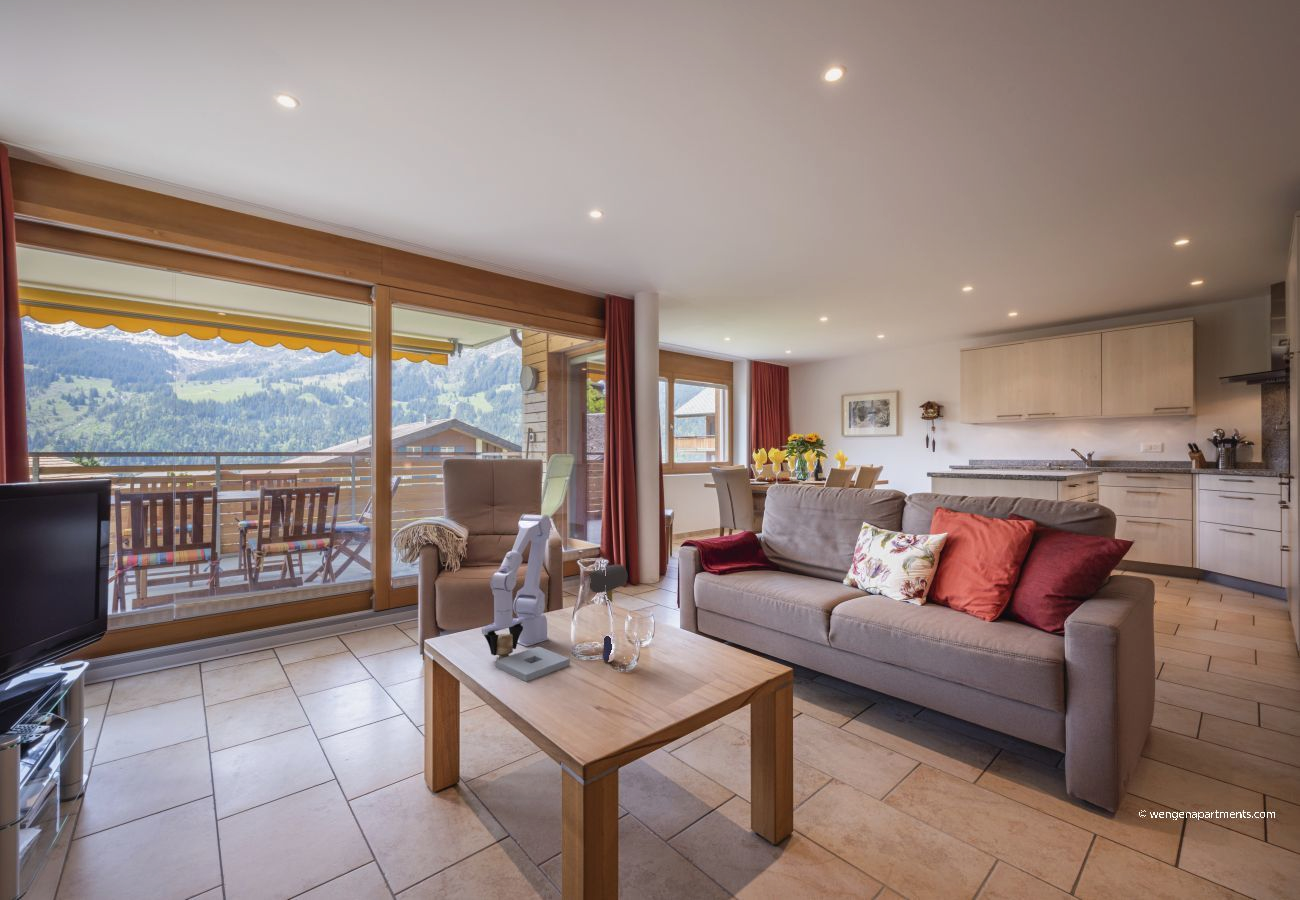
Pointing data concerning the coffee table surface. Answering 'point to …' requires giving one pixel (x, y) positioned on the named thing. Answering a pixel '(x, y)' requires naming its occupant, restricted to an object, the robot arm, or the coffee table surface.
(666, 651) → the coffee table surface
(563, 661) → the mortise board
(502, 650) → the oak peg
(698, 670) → the coffee table surface
